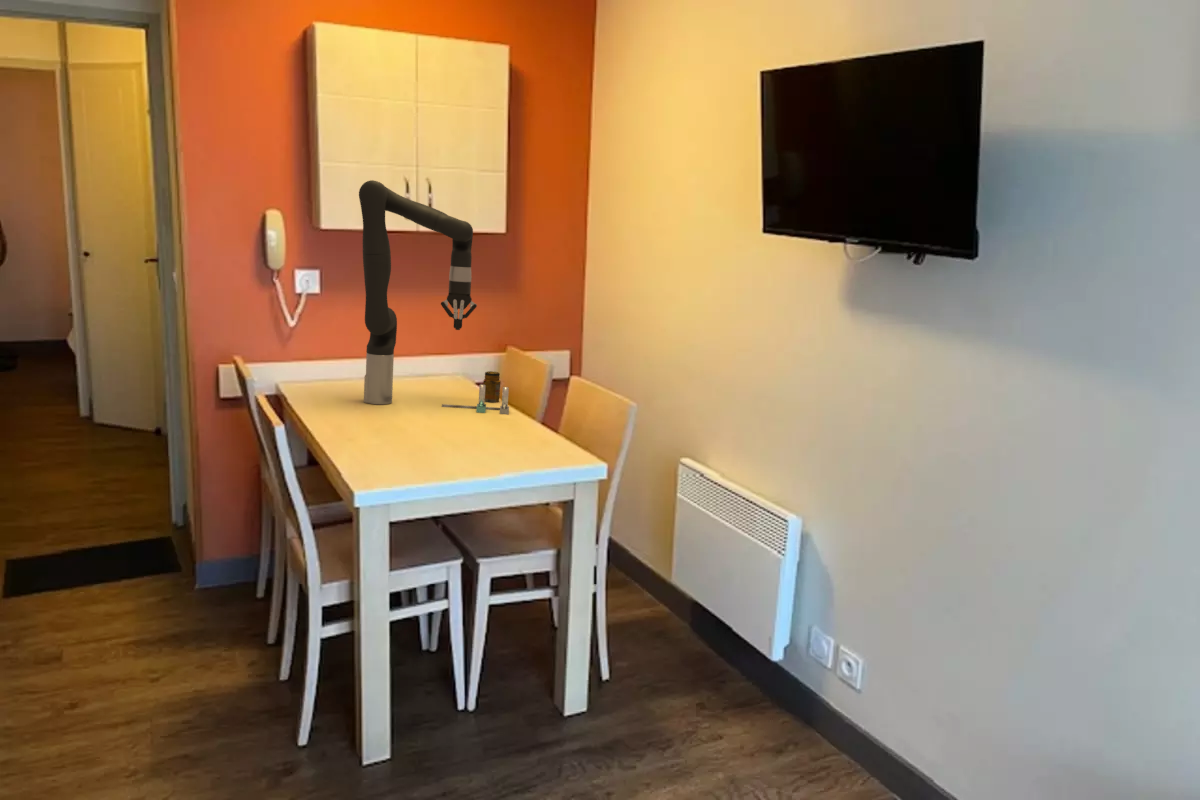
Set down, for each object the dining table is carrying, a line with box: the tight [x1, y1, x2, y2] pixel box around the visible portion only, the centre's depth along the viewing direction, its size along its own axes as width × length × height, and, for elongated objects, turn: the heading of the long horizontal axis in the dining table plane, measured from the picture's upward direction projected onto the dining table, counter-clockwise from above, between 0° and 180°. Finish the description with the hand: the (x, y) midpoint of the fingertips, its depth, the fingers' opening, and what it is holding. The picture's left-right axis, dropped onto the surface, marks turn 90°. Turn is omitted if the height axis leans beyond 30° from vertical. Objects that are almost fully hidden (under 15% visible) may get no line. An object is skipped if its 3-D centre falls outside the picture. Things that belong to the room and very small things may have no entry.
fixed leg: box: [499, 386, 510, 415], centre depth 318 cm, size 3×5×9 cm, turn 4°
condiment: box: [482, 370, 501, 404], centre depth 335 cm, size 7×8×12 cm
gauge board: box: [441, 403, 500, 411], centre depth 317 cm, size 24×14×2 cm, turn 94°
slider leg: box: [475, 384, 487, 414], centre depth 318 cm, size 3×5×9 cm, turn 4°
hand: (457, 329), depth 326 cm, fingers closed
